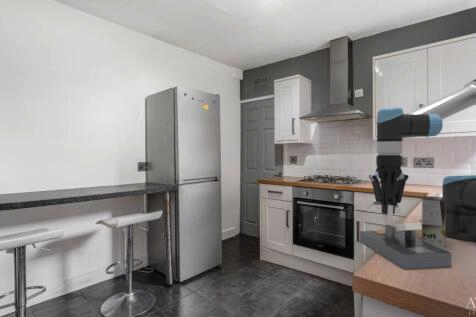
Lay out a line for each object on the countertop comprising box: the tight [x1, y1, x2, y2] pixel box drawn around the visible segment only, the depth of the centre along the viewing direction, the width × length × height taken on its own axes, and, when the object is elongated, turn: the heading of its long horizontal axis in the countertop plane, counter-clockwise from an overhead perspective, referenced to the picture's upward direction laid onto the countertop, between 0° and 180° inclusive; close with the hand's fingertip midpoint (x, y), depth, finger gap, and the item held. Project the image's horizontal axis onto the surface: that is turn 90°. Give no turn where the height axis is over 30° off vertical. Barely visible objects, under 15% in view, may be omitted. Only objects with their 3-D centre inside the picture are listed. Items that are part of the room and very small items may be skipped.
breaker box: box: [359, 224, 452, 270], centre depth 83 cm, size 14×22×9 cm, turn 5°
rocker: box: [380, 222, 422, 233], centre depth 83 cm, size 5×12×2 cm, turn 5°
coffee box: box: [421, 195, 446, 249], centre depth 92 cm, size 9×6×16 cm
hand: (387, 223), depth 89 cm, fingers closed
